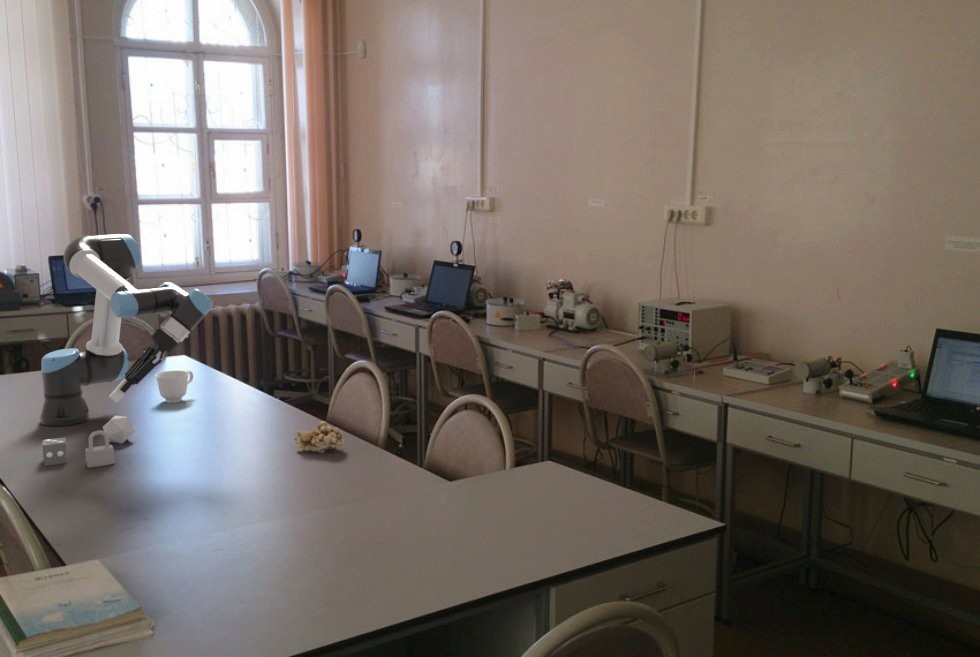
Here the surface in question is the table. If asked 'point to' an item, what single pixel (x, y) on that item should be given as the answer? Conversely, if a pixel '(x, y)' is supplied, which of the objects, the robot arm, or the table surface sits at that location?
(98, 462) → the padlock
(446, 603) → the table surface
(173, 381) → the teacup
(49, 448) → the dotted block
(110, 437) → the die
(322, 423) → the mineral formation
